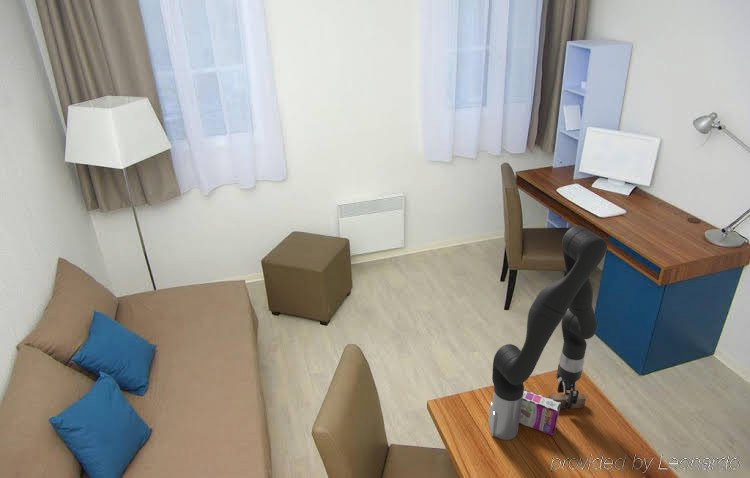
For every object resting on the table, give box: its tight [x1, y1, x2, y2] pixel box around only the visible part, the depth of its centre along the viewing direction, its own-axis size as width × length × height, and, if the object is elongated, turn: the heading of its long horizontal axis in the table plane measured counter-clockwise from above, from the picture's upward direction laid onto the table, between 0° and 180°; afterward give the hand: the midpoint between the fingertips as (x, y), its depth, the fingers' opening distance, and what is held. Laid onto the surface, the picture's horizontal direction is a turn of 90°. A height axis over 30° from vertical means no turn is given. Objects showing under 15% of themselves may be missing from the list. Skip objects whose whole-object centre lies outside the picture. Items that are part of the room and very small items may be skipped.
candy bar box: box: [519, 389, 561, 436], centre depth 175 cm, size 11×5×16 cm
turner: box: [547, 393, 587, 409], centre depth 183 cm, size 20×6×4 cm, turn 90°
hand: (563, 400), depth 183 cm, fingers open, 7 cm apart
